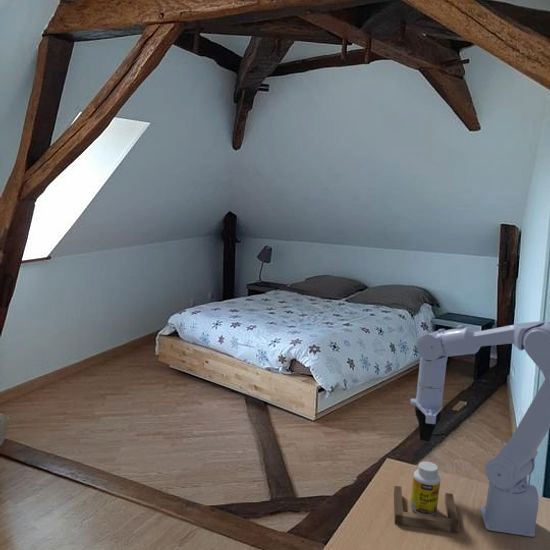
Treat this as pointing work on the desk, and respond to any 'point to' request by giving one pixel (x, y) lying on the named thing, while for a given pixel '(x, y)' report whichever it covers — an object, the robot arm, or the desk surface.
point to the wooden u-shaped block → (425, 520)
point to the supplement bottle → (425, 489)
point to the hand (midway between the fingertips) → (424, 439)
